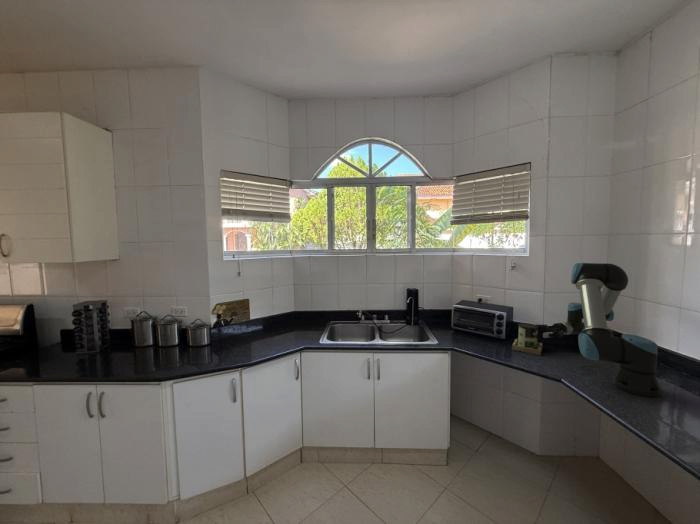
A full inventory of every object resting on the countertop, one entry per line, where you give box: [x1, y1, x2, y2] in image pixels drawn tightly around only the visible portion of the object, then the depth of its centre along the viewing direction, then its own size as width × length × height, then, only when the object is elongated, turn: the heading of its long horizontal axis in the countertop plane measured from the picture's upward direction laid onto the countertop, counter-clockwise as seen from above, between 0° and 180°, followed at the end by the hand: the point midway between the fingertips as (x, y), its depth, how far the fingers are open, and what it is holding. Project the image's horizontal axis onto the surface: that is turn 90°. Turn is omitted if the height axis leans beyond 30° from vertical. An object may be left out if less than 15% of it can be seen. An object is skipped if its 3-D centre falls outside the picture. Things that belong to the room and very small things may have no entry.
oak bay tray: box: [511, 338, 543, 356], centre depth 182 cm, size 14×14×3 cm
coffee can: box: [517, 322, 539, 349], centre depth 181 cm, size 10×10×14 cm
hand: (533, 331), depth 182 cm, fingers open, 13 cm apart
